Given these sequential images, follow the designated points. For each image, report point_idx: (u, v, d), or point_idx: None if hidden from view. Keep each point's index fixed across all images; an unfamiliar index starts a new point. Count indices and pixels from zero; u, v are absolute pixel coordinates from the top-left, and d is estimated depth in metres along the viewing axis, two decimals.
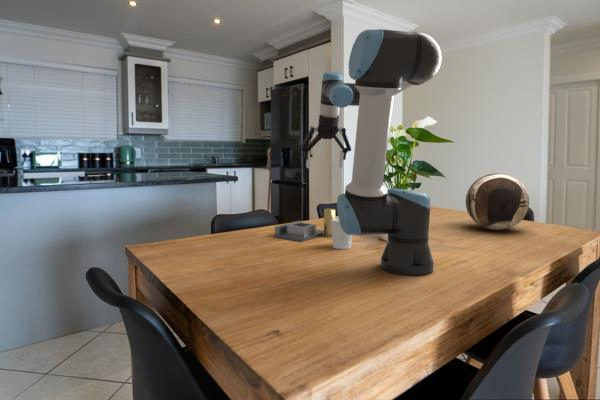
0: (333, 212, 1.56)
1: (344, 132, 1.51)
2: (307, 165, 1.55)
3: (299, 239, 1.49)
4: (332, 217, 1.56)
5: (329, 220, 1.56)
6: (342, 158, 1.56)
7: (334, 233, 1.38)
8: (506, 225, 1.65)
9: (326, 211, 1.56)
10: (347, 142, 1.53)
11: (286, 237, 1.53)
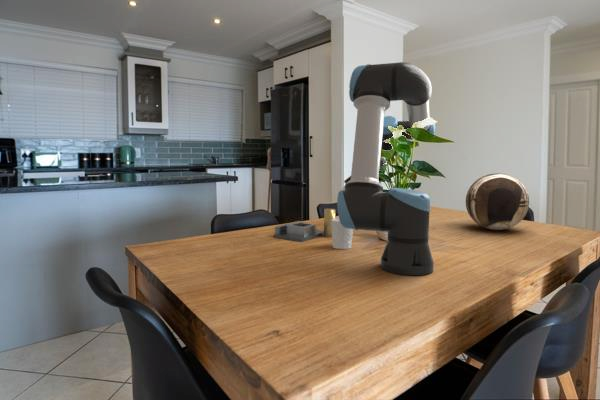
0: (333, 212, 1.56)
1: None
2: None
3: (299, 239, 1.49)
4: (332, 217, 1.56)
5: (329, 220, 1.56)
6: None
7: (334, 233, 1.38)
8: (506, 225, 1.65)
9: (326, 211, 1.56)
10: None
11: (286, 237, 1.53)
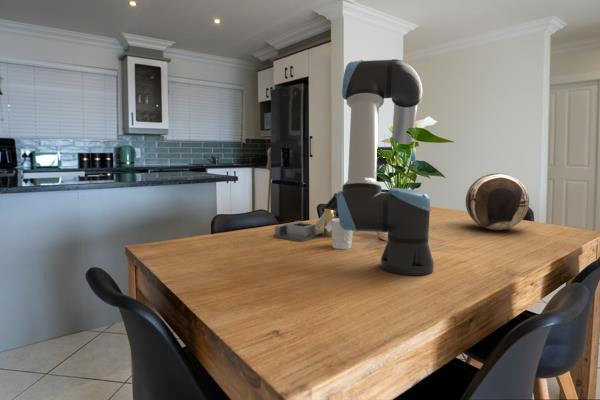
0: (333, 212, 1.56)
1: None
2: (316, 222, 1.60)
3: (299, 239, 1.49)
4: None
5: (329, 220, 1.56)
6: None
7: (334, 233, 1.38)
8: (506, 225, 1.65)
9: (326, 211, 1.56)
10: None
11: (286, 237, 1.53)
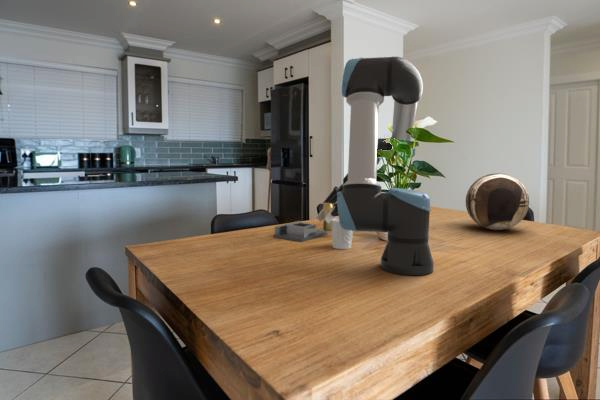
0: (333, 205, 1.55)
1: None
2: (317, 215, 1.58)
3: (299, 239, 1.49)
4: None
5: None
6: (330, 211, 1.55)
7: (334, 233, 1.38)
8: (506, 225, 1.65)
9: (325, 205, 1.55)
10: None
11: (286, 237, 1.53)
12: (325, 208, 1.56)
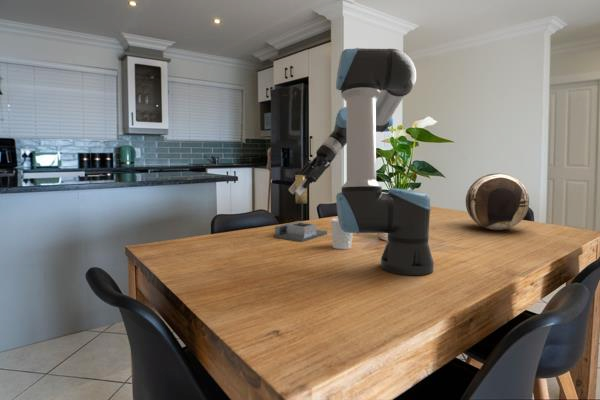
0: (304, 178, 1.54)
1: (323, 163, 1.53)
2: (290, 187, 1.57)
3: (299, 239, 1.49)
4: None
5: None
6: (301, 183, 1.53)
7: (334, 233, 1.38)
8: (506, 225, 1.65)
9: (297, 177, 1.53)
10: (316, 171, 1.52)
11: (286, 237, 1.53)
12: (297, 180, 1.54)
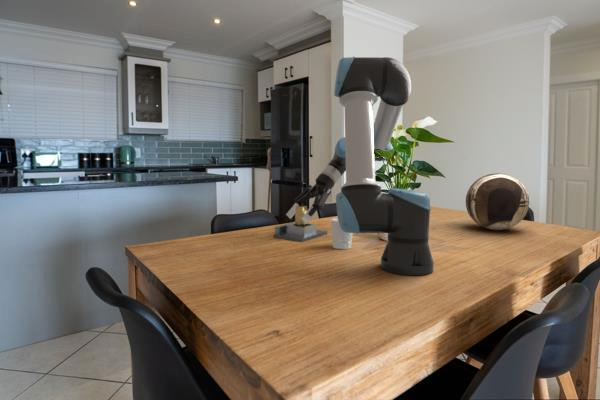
0: (304, 209, 1.55)
1: (325, 190, 1.54)
2: None
3: (299, 239, 1.49)
4: (303, 214, 1.55)
5: (300, 217, 1.55)
6: (307, 210, 1.52)
7: (334, 233, 1.38)
8: (506, 225, 1.65)
9: (297, 208, 1.55)
10: (320, 198, 1.52)
11: (286, 237, 1.53)
12: (297, 211, 1.55)
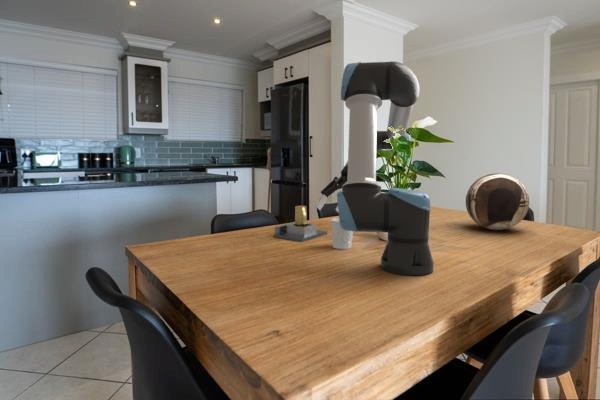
0: (304, 209, 1.55)
1: None
2: (317, 204, 1.68)
3: (299, 239, 1.49)
4: (303, 214, 1.55)
5: (300, 217, 1.55)
6: None
7: (334, 233, 1.38)
8: (506, 225, 1.65)
9: (297, 208, 1.55)
10: None
11: (286, 237, 1.53)
12: (296, 212, 1.55)
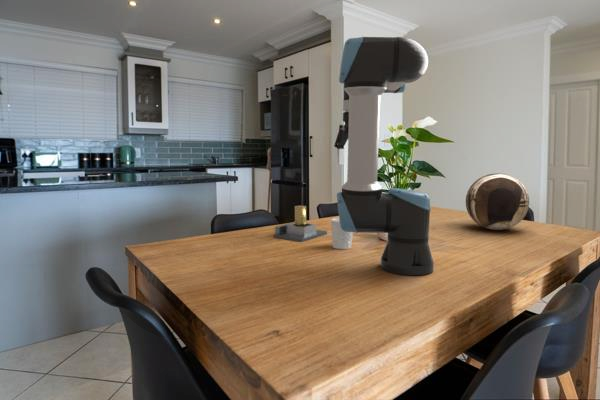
0: (303, 209, 1.55)
1: None
2: (338, 161, 1.64)
3: (299, 239, 1.49)
4: (303, 214, 1.55)
5: (299, 217, 1.55)
6: None
7: (334, 233, 1.38)
8: (506, 225, 1.65)
9: (296, 208, 1.55)
10: None
11: (286, 237, 1.53)
12: (296, 212, 1.55)
